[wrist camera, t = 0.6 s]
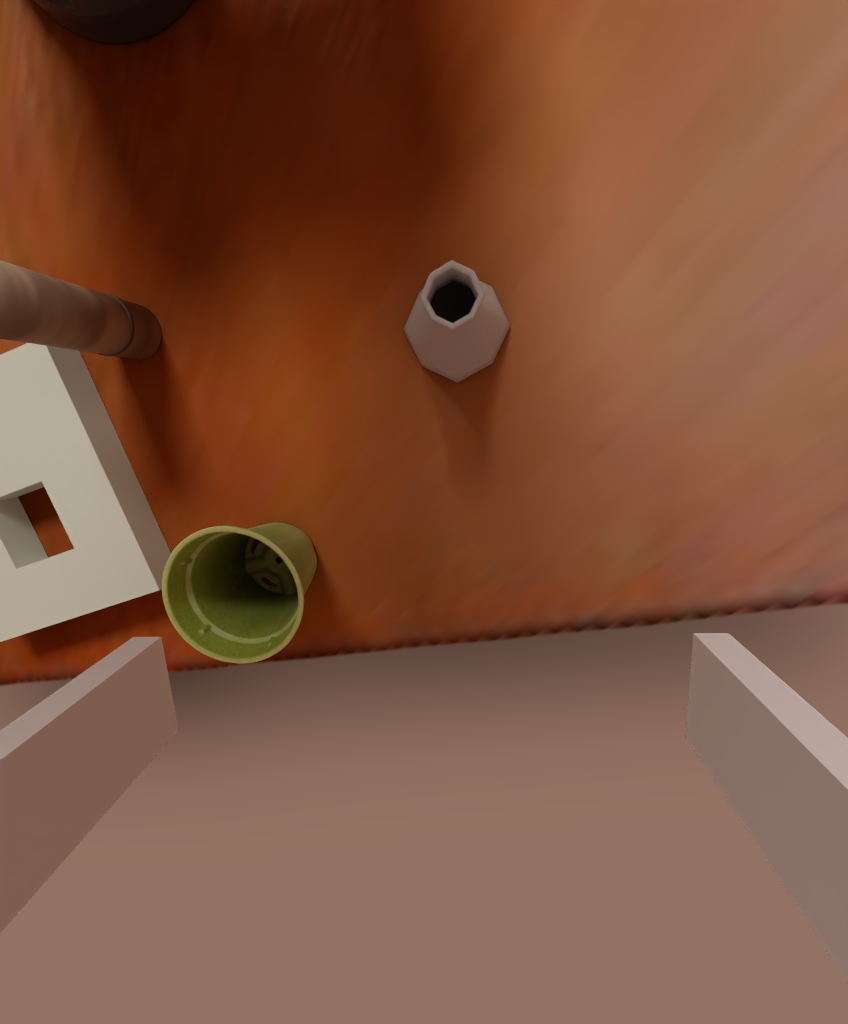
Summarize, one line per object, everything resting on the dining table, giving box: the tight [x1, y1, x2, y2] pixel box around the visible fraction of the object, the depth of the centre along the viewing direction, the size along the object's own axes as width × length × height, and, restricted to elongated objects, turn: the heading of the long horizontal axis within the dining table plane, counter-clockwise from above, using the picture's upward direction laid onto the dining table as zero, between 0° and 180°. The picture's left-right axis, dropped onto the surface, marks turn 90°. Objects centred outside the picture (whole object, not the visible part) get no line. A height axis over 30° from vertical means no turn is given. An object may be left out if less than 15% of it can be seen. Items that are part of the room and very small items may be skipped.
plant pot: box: [162, 522, 317, 663], centre depth 35 cm, size 9×9×9 cm
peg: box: [0, 260, 161, 360], centre depth 30 cm, size 4×4×12 cm
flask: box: [403, 260, 511, 383], centre depth 29 cm, size 7×7×10 cm
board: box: [0, 343, 171, 642], centre depth 38 cm, size 20×16×3 cm
